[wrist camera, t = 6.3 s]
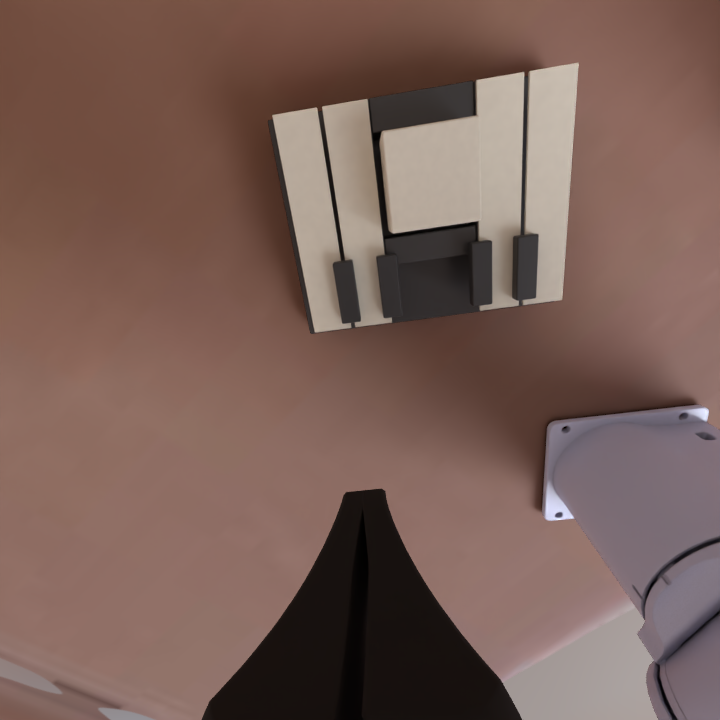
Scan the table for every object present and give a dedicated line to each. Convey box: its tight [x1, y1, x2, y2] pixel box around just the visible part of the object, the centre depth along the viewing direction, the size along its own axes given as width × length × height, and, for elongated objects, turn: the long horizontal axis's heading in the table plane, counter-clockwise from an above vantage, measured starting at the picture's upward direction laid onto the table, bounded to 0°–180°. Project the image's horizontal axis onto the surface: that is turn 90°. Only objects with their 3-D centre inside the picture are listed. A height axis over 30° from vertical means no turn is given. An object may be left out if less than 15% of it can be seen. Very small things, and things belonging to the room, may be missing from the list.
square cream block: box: [379, 115, 481, 234], centre depth 15 cm, size 4×4×2 cm
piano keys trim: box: [272, 63, 578, 333], centre depth 15 cm, size 9×12×1 cm
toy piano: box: [268, 76, 554, 334], centre depth 17 cm, size 10×13×3 cm
